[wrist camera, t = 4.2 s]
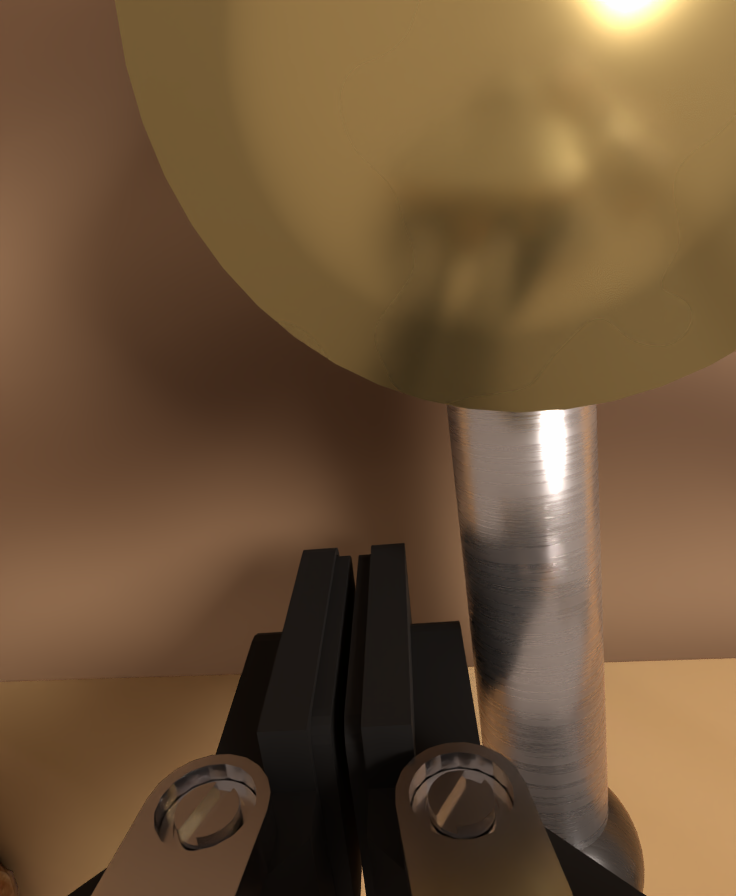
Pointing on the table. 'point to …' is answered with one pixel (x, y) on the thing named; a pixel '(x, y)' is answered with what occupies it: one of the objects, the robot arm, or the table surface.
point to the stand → (251, 423)
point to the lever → (478, 273)
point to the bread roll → (7, 883)
